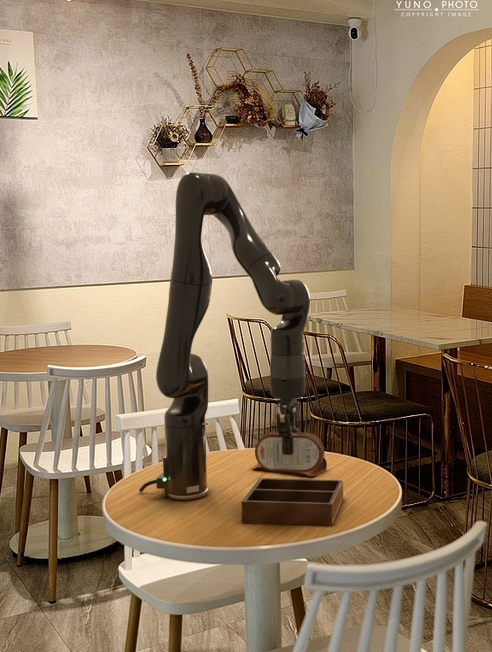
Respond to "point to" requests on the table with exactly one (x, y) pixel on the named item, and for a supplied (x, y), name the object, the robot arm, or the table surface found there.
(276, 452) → the tin
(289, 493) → the organizer
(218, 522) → the table surface
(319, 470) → the sunglasses case
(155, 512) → the table surface
